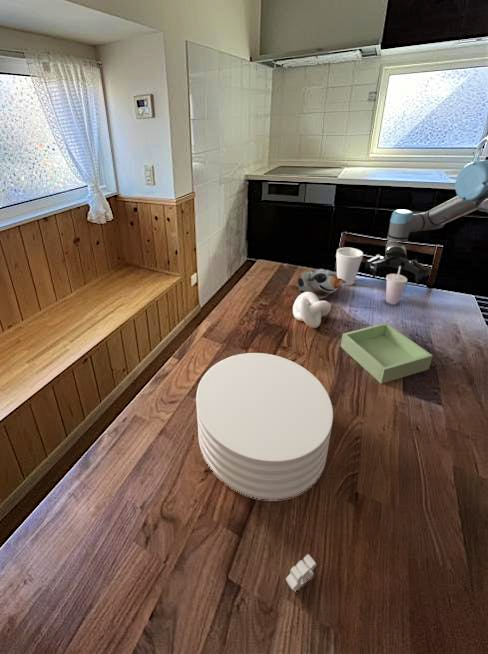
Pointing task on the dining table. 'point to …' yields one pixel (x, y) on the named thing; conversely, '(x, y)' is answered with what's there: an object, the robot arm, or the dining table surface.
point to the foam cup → (348, 263)
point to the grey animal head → (319, 282)
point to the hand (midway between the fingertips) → (395, 277)
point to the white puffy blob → (310, 309)
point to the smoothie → (394, 287)
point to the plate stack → (263, 425)
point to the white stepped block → (301, 573)
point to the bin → (385, 352)
